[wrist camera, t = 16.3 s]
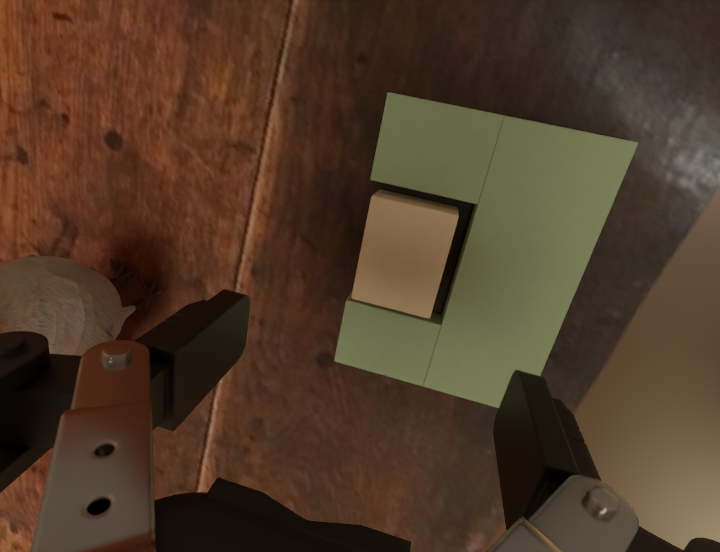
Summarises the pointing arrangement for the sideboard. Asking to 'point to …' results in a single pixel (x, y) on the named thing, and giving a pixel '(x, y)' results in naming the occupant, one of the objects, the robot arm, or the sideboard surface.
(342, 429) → the sideboard surface
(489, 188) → the green c-shaped block
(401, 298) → the cream pad
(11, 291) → the bird
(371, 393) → the sideboard surface
